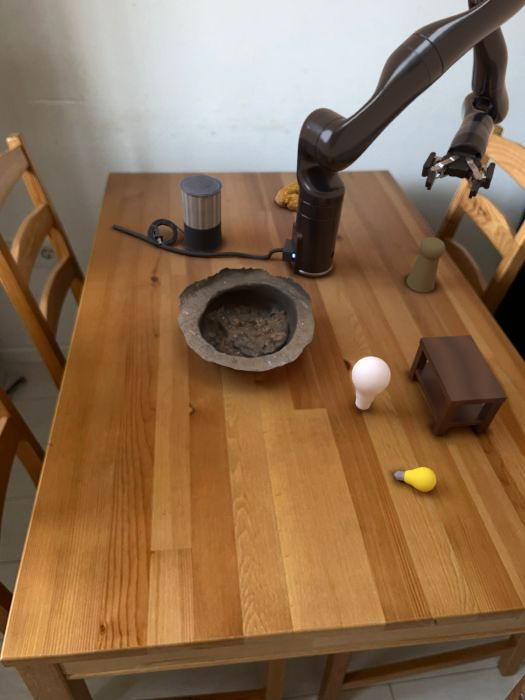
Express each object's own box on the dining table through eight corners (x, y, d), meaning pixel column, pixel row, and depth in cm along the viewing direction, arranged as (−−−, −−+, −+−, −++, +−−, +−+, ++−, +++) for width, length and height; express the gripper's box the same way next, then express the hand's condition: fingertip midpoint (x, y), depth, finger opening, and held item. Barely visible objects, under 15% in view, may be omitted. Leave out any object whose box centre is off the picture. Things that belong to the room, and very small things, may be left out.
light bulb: (435, 496, 76) (434, 488, 73) (394, 489, 78) (391, 481, 76) (437, 474, 77) (436, 466, 75) (397, 467, 80) (395, 459, 77)
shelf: (435, 436, 84) (451, 401, 77) (407, 373, 94) (420, 337, 87) (486, 432, 85) (507, 397, 79) (454, 370, 95) (470, 334, 88)
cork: (434, 294, 111) (450, 251, 103) (406, 289, 111) (419, 246, 104) (433, 277, 115) (448, 235, 107) (406, 273, 116) (419, 231, 108)
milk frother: (230, 247, 120) (230, 188, 109) (169, 267, 113) (163, 206, 103) (200, 219, 128) (198, 162, 117) (142, 236, 121) (133, 177, 111)
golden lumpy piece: (272, 194, 139) (273, 177, 135) (312, 194, 140) (314, 177, 137) (277, 213, 132) (278, 196, 128) (319, 212, 133) (321, 195, 130)
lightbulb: (371, 427, 85) (385, 382, 77) (338, 410, 87) (348, 366, 79) (385, 403, 88) (400, 358, 81) (353, 388, 90) (364, 343, 83)
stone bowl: (247, 283, 110) (251, 248, 103) (335, 351, 99) (346, 316, 92) (151, 335, 97) (149, 298, 90) (241, 419, 86) (246, 385, 79)
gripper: (439, 126, 113) (418, 168, 105) (506, 136, 109) (490, 182, 101) (433, 156, 119) (413, 198, 111) (497, 167, 115) (480, 212, 107)
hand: (449, 190), depth 106 cm, fingers open, 8 cm apart
